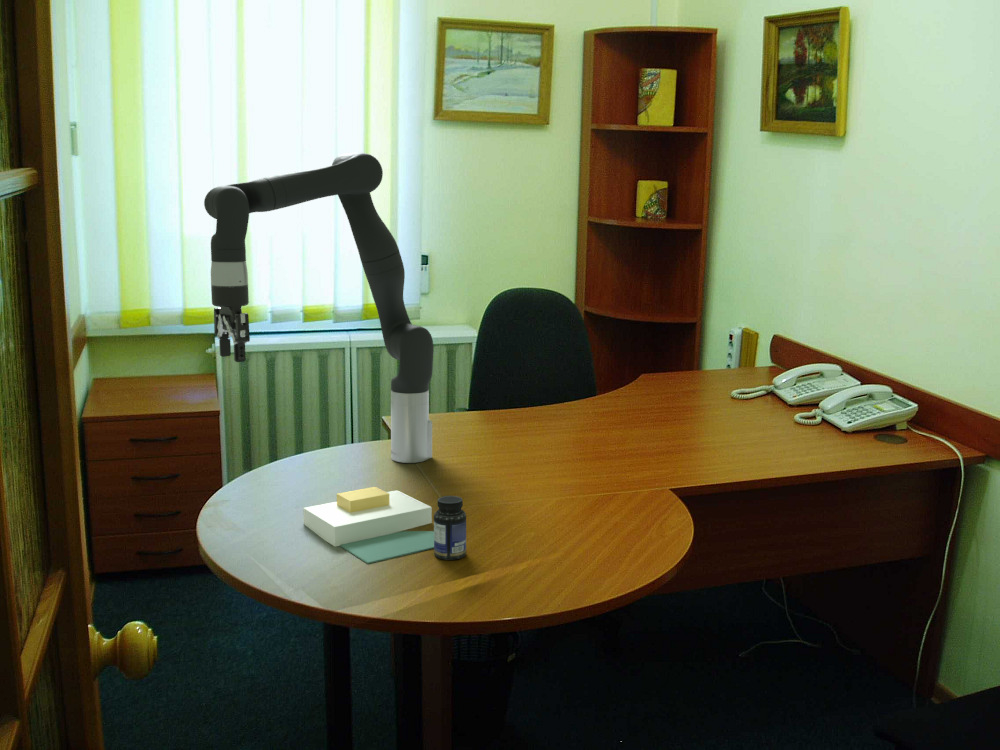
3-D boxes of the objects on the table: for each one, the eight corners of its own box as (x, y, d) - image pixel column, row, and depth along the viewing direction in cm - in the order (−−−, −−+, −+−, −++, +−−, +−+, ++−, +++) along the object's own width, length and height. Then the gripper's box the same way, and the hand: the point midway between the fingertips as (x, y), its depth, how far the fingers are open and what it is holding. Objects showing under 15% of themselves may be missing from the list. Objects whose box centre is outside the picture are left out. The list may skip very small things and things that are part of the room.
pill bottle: (466, 549, 184) (466, 494, 182) (466, 561, 178) (466, 504, 176) (434, 549, 184) (434, 494, 182) (433, 561, 178) (433, 504, 176)
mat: (428, 527, 196) (428, 525, 196) (458, 542, 187) (458, 541, 187) (340, 546, 184) (340, 544, 184) (367, 563, 176) (367, 562, 176)
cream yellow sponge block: (375, 497, 202) (375, 486, 201) (389, 504, 197) (389, 493, 197) (336, 504, 197) (336, 493, 196) (350, 512, 192) (350, 501, 191)
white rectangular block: (397, 507, 208) (397, 490, 207) (431, 525, 197) (431, 507, 196) (303, 526, 195) (303, 507, 194) (334, 546, 184) (334, 526, 183)
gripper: (259, 284, 198) (262, 362, 201) (234, 279, 209) (237, 353, 212) (224, 286, 193) (227, 365, 196) (200, 281, 205) (203, 355, 207)
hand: (232, 358), depth 204 cm, fingers open, 8 cm apart
